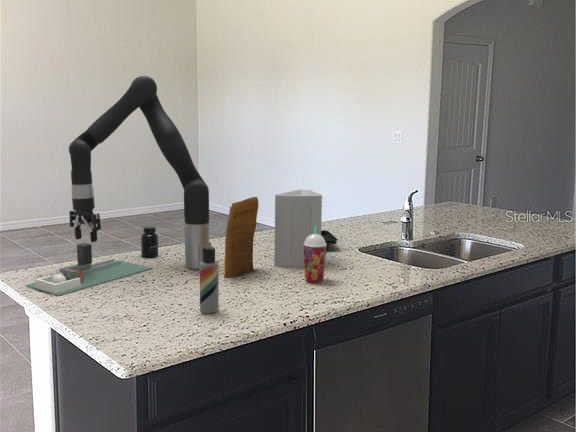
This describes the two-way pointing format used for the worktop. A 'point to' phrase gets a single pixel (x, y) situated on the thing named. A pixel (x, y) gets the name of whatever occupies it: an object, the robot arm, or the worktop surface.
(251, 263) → the pancake mix bag
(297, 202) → the paper bag
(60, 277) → the ball
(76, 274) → the block
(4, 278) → the worktop surface
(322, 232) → the tray
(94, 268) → the rail
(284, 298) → the worktop surface
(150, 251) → the supplement bottle
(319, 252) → the smoothie
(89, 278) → the field
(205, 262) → the lotion bottle
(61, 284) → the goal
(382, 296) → the worktop surface
